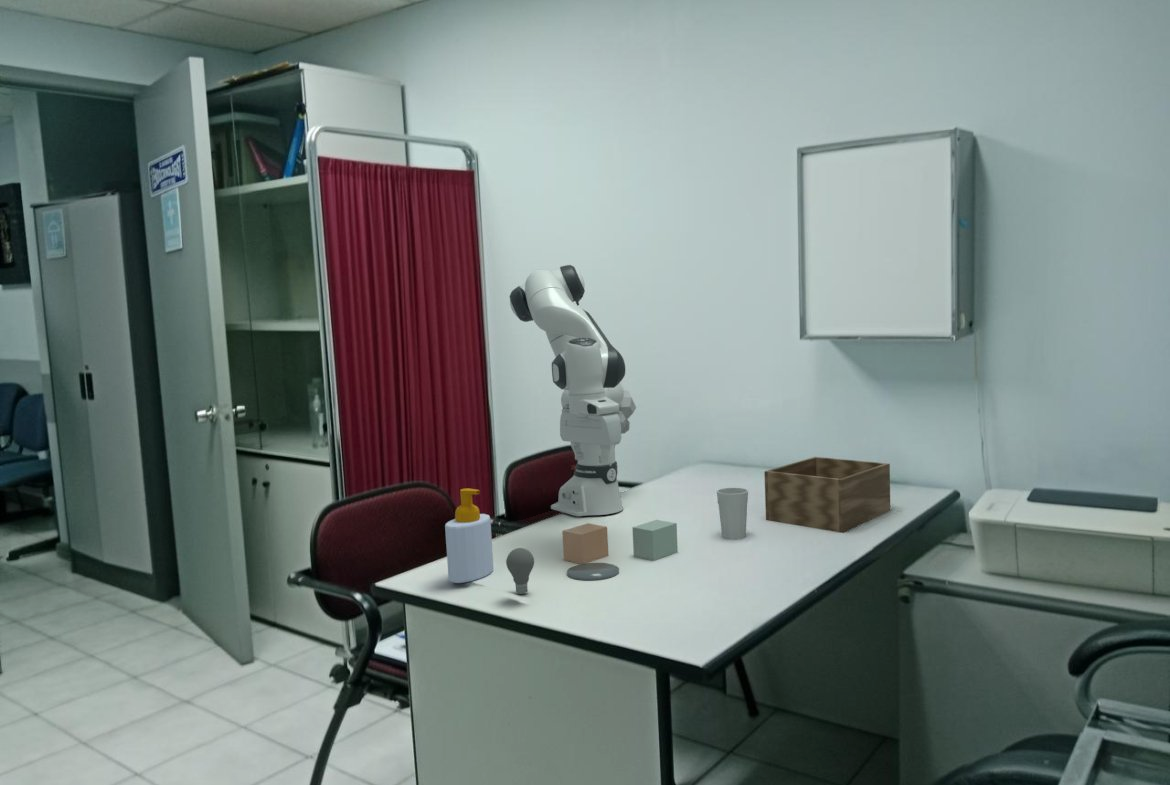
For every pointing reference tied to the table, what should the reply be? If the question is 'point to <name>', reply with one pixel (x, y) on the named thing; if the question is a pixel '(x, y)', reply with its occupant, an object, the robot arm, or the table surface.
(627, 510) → the table surface
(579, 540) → the peach smooth rectangular block
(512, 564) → the light bulb
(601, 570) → the slate coaster
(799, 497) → the walnut planter box
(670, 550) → the pale green upright block
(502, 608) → the table surface
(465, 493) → the soap bottle
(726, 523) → the cup
